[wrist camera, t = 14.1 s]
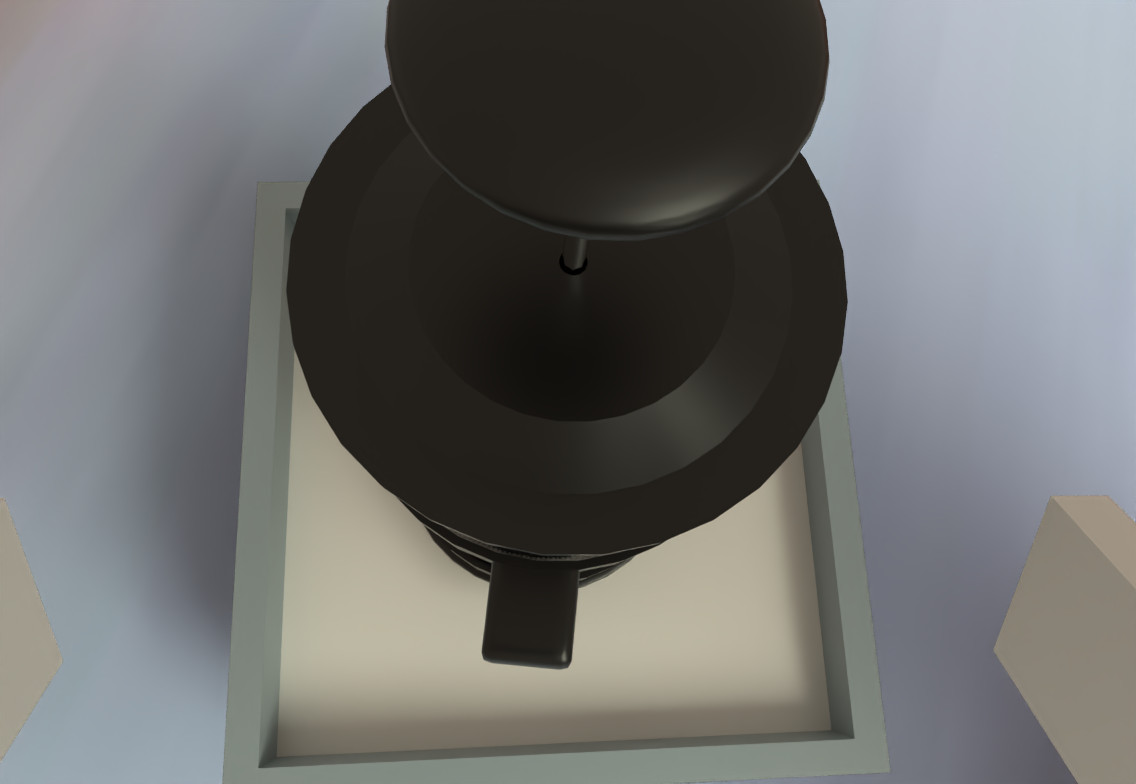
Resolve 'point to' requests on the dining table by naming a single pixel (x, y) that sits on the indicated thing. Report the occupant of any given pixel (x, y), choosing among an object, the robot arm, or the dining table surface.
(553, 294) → the french press
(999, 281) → the dining table surface
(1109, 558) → the robot arm
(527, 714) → the grey tray with legs
